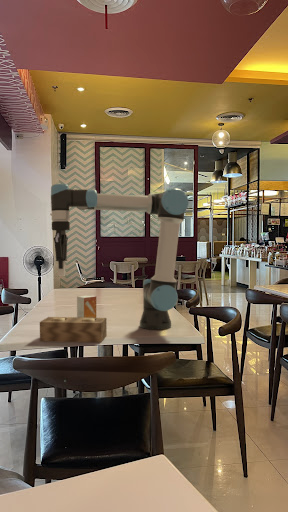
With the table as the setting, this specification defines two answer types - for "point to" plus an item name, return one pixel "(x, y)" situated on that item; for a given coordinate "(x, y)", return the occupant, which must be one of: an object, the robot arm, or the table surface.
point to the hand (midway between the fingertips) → (61, 276)
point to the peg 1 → (58, 319)
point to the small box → (86, 306)
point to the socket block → (73, 330)
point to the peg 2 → (89, 320)
